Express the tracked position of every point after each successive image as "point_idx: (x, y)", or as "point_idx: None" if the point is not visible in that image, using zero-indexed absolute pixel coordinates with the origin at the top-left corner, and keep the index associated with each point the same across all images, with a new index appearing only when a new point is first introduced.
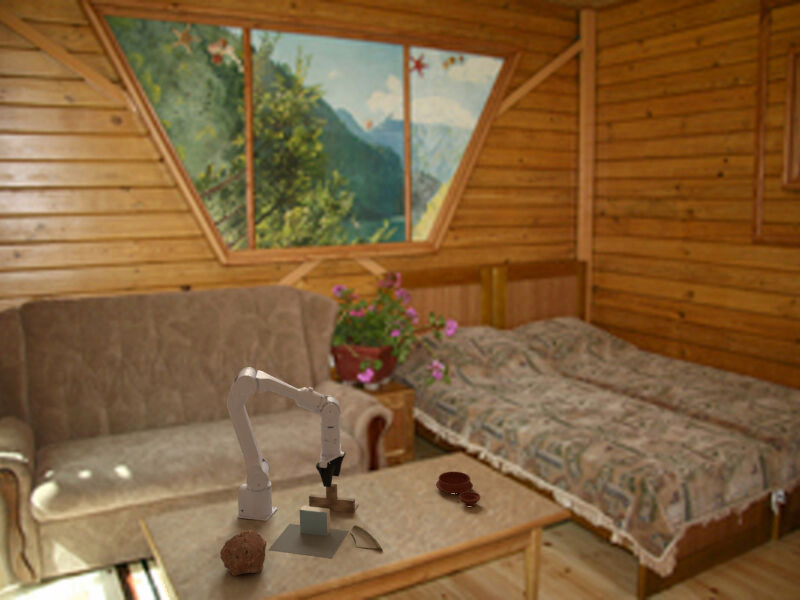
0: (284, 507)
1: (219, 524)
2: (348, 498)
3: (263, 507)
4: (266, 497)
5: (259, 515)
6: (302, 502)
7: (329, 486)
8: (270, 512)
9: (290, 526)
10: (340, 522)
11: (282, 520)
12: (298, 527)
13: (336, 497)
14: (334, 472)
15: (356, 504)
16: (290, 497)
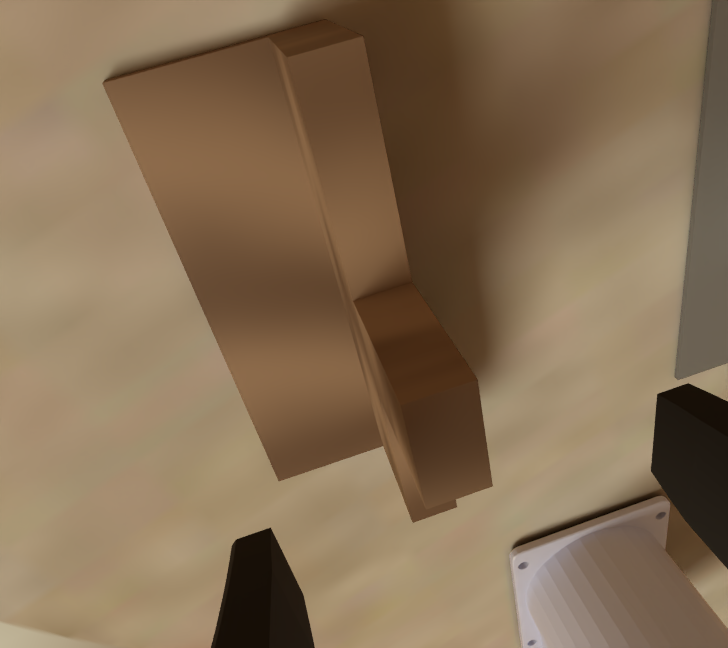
0: (468, 538)
1: (719, 601)
2: (322, 153)
3: (686, 584)
4: (719, 644)
5: (664, 549)
6: (354, 513)
7: (704, 395)
8: (606, 538)
9: (712, 351)
10: (558, 41)
11: (630, 441)
12: (720, 300)
13: (387, 294)
14: (301, 633)
15: (129, 106)
16: (328, 600)
